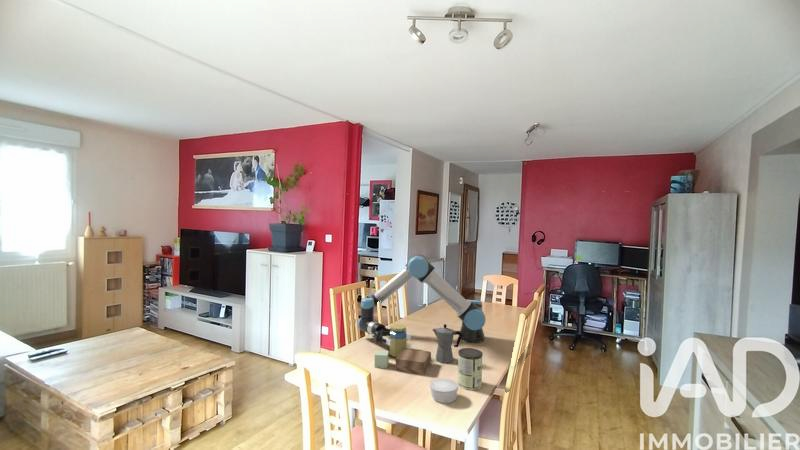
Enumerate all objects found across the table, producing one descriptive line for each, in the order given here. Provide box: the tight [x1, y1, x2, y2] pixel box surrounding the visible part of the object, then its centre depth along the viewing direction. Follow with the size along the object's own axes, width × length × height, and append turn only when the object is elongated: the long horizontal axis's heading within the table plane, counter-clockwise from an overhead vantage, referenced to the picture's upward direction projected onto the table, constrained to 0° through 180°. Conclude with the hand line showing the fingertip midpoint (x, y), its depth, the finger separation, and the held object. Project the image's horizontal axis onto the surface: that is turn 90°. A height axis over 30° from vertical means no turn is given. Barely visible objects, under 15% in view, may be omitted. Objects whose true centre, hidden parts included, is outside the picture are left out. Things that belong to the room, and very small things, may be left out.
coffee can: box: [457, 347, 483, 391], centre depth 149 cm, size 10×10×14 cm
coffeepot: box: [432, 323, 462, 364], centre depth 175 cm, size 15×9×18 cm, turn 68°
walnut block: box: [395, 347, 432, 376], centre depth 167 cm, size 14×14×6 cm
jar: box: [389, 323, 408, 358], centre depth 181 cm, size 9×9×15 cm
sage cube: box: [374, 349, 390, 369], centre depth 168 cm, size 6×6×6 cm
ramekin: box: [429, 378, 459, 404], centre depth 138 cm, size 11×11×5 cm
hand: (401, 340), depth 179 cm, fingers open, 13 cm apart
